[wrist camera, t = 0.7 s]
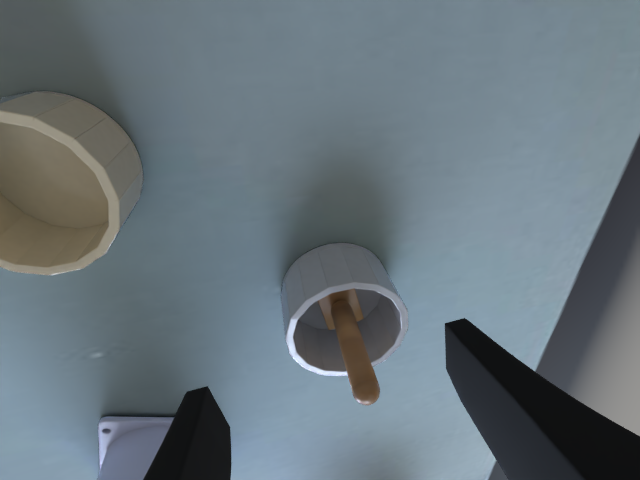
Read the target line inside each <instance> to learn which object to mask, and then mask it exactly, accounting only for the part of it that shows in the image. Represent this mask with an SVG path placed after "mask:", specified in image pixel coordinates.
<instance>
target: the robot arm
mask: <svg viewBox="0 0 640 480" xmlns="http://www.w3.org/2000/svg"><path fill="white" fill-rule="evenodd" d="M445 343H446V369H447V372H448V374H449V376H450V378H451V380H452V383H453V385H454V387H455V389H456V391H457V393H458V395H459V398H460V400H461V402H462V403H463V405H464V407H465V408H466V410H467V412H468V414H469V415H470V417H471V419H472V420H473V422H474V424H475V425H476V427H477V429H478V430H479V432H480V433H481V435H482V437H483V438H484V440H485V442H486V443H487V445H488V447H489V448H490V450H491V452H492V453H493V455H494V457H495V458H496V460H497V461H498V463H499V465H500V466H501V468H502V470H503V471H504V473H505V475H506V476H507V478H508V480H640V436H638V435H636V434H634V433H633V432H631V431H629V430H627V429H625V428H624V427H622V426H620V425H618V424H616V423H615V422H612V421H611V420H609V419H608V418H606V417H604V416H603V415H601V414H599V413H597V412H596V411H594V410H592V409H591V408H589V407H587V406H586V405H584V404H583V403H581V402H579V401H578V400H576V399H575V398H573V397H571V396H570V395H568V394H567V393H565V392H564V391H562V390H561V389H559V388H558V387H556V386H555V385H553V384H552V383H550V382H549V381H547V380H546V379H545V378H543V377H542V376H540V375H539V374H537V373H536V372H535V371H533V370H532V369H530V368H529V367H528V366H526V365H525V364H524V363H522V362H521V361H519V360H518V359H517V358H515V357H514V356H513V355H511V354H510V353H509V352H507V351H506V350H505V349H503V348H502V347H501V346H500V345H498V344H497V343H496V342H494V341H493V340H492V339H491V338H489V337H488V336H487V335H486V334H484V333H483V332H482V331H481V330H479V329H478V328H477V327H476V326H474V325H473V324H472V323H471V322H470V321H468V320H467V319H465V318H464V319H460V320H456V321H452V322H449V323H445ZM98 438H99V461H100V472H99V475H98V478H97V480H230V477H231V439H230V426H229V424H228V423H227V421H226V419H225V417H224V415H223V414H222V412H221V410H220V408H219V406H218V404H217V403H216V401H215V399H214V397H213V395H212V393H211V392H210V390H209V388H208V386H207V387H203V388H199V389H196V390H192V391H188V392H187V393H186V394H185V396H184V398H183V400H182V402H181V404H180V406H179V408H178V411H177V413H176V415H175V417H116V416H107V417H103V418H101V419H100V421H99V424H98Z"/></svg>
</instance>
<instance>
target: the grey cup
mask: <svg viewBox="0 0 640 480" xmlns="http://www.w3.org/2000/svg"><path fill="white" fill-rule="evenodd" d="M353 288H354V289H355V290H356V293H357V297H358V300H359V303H360V307H361V310H362V313H363V317H364V319H363V320H360V321H357V324H358V327H359V330H360V332H361V335H362V338H363V341H364V344H365V347H366V350H367V353H368V355H369V358H370V361H371V364H372V367H374V366H376V365H378V364H380V363H382V362H383V361H385V360H386V359H387V358H388V357H389V356H390V355H391V354H392V353H393V352H394V351H395V350H396V349H397V348H398V347H399V346H400V345H401V343H402V341H403V339H404V336H405V334H406V332H407V330H408V311H407V308H406V306H405V304H404V303H403V301H402V299H401V297H400V295H399V293H398V291H397V289H396V288H395V286H394V284H393V282H392V280H391V278H390V276H389V275H388V273H387V271H386V270H385V268H384V266H383V265H382V263H381V261H380V260H379V259H378V257H377V256H376V255H375V254H373V253H372V252H371V251H369V250H367V249H365V248H363V247H361V246H358V245H354V244H350V243H333V244H327V245H323V246H320V247H317V248H314V249H312V250H310V251H308V252H307V253H305V254H304V255H302V256H301V257H300V258H299V259H297V260H296V261H295V262H294V263H293V264H292V266H291V267H290V268H289V270H288V271H287V273H286V275H285V277H284V280H283V283H282V289H281V303H282V312H283V322H284V331H285V339H286V343H287V346H288V350H289V354H290V355H291V356H292V357H293V358H294V360H295V361H296V362H297V363H298V364H299V365H300V366H301V367H302V368H304V369H307V370H309V371H312V372H315V373H317V374H320V375H328V376H346V375H348V374H347V371H346V367H345V363H344V359H343V356H342V352H341V348H340V345H339V341H338V337H337V333H336V330H335V329H332V330H328V327H327V325H326V322H325V319H324V317H323V314H322V312H321V309H320V306H319V304H318V300H320V299H322V298H324V297H325V296H327V295H329V294H331V293H335V292H339V291H344V290H349V289H353Z"/></svg>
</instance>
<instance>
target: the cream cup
mask: <svg viewBox="0 0 640 480" xmlns="http://www.w3.org/2000/svg"><path fill="white" fill-rule="evenodd" d="M142 188H143V169H142V164H141V160H140V157H139V154H138V152H137V150H136V148H135V146H134V144H133V142H132V141H131V139H130V138H129V136H128V135H127V134H126V133H125V131H124V130H123V129H122V128H121V127H120V126H119V125H118V124H117V123H116V122H115V121H114V120H113V119H112V118H111V117H110V116H108V115H107V114H106V113H105V112H103V111H101V110H100V109H98V108H97V107H95V106H94V105H92V104H90V103H88V102H86V101H84V100H81V99H79V98H76V97H73V96H70V95H66V94H63V93H57V92H50V91H33V92H25V93H21V94H17V95H13V96H7V97H3V98H0V267H2V268H5V269H7V270H10V271H14V272H20V273H30V274H40V275H55V274H60V273H65V272H70V271H75V270H80V269H83V268H85V267H86V266H88V265H89V264H91V263H92V262H94V261H95V260H97V259H98V258H100V257H101V256H103V255H104V254H106V253H107V252H108V250H109V248H110V247H111V245H112V244H113V242H114V240H115V239H116V237H117V235H118V234H119V232H120V231H121V229H122V227H123V226H124V224H125V223H126V221H127V219H128V218H129V216H130V214H131V213H132V211H133V209H134V207H135V206H136V204H137V202H138V200H139V198H140V196H141V192H142Z"/></svg>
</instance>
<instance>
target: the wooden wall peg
mask: <svg viewBox="0 0 640 480" xmlns="http://www.w3.org/2000/svg"><path fill="white" fill-rule="evenodd" d="M318 304H319V306H320V309H321V312H322V314H323V317H324V319H325V322H326V325H327V327H328V330H332V329H335V330H336V333H337V337H338V341H339V345H340V348H341V352H342V356H343V359H344V363H345V367H346V371H347V374H348V378H349V382H350V385H351V389H352V393H353V396H354V398H355V399H356V401H358V402H359V403H360V404H363V405H371V404H373V403H374V402H376V401H377V399H378V398H379V395H380V388H379V384H378V381H377V378H376V376H375V373H374V370H373V367H372V364H371V361H370V358H369V355H368V353H367V350H366V347H365V344H364V341H363V338H362V335H361V332H360V330H359V327H358V324H357V321H360V320H363V319H364V317H363V313H362V310H361V307H360V303H359V300H358V297H357V293H356V290H355V289H354V288H353V289H349V290H344V291H339V292H335V293H331V294H329V295H327V296H325V297H324V298H322V299H320V300H318Z"/></svg>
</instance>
